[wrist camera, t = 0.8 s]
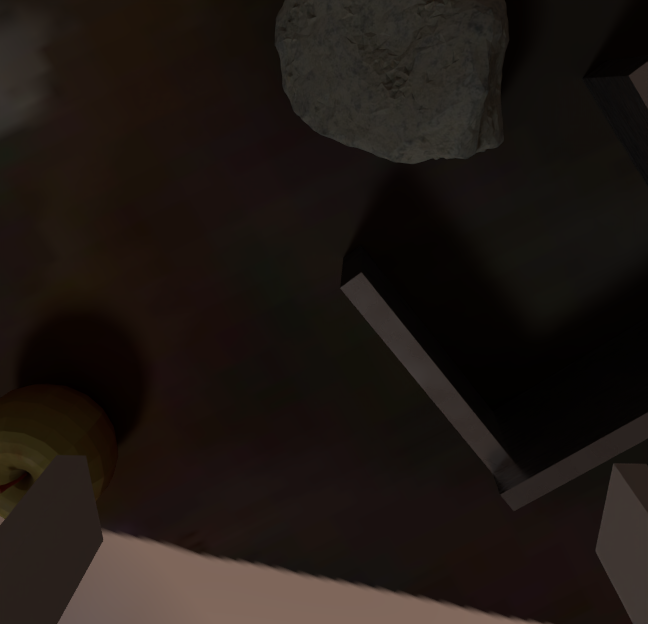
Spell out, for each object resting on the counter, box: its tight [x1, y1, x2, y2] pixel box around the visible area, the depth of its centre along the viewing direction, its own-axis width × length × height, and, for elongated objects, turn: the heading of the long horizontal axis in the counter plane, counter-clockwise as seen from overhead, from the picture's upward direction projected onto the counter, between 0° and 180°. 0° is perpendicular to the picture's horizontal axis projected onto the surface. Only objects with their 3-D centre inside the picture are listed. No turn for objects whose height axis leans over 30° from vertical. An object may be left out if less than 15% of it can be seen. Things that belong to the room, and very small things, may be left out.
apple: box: [0, 384, 118, 519], centre depth 40 cm, size 10×10×8 cm
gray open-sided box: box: [340, 55, 648, 511], centre depth 33 cm, size 17×19×8 cm
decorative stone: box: [275, 0, 509, 164], centre depth 30 cm, size 13×11×10 cm
